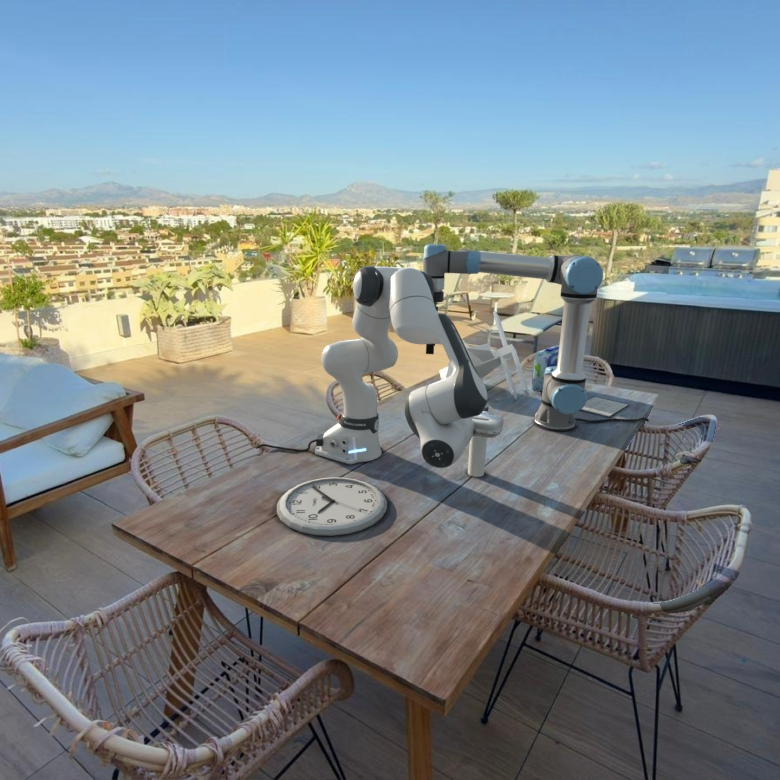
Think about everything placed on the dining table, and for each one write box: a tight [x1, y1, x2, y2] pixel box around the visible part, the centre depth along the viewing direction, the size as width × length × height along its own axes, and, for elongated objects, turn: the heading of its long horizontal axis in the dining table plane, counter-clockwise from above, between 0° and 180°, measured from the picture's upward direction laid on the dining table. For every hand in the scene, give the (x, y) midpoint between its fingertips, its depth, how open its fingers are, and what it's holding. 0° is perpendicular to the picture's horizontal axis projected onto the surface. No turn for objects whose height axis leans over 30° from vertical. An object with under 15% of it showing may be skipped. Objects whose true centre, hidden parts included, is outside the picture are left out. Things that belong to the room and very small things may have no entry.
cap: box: [482, 404, 489, 412], centre depth 157 cm, size 5×5×2 cm
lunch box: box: [531, 344, 560, 393], centre depth 245 cm, size 26×11×21 cm, turn 134°
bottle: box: [467, 436, 488, 478], centre depth 160 cm, size 5×5×22 cm
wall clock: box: [276, 476, 388, 537], centre depth 142 cm, size 30×2×30 cm
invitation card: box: [580, 396, 629, 418], centre depth 226 cm, size 21×1×15 cm
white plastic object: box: [438, 310, 531, 400], centre depth 245 cm, size 37×45×31 cm
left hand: (467, 411), depth 137 cm, fingers open, 8 cm apart
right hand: (430, 349), depth 189 cm, fingers open, 13 cm apart
